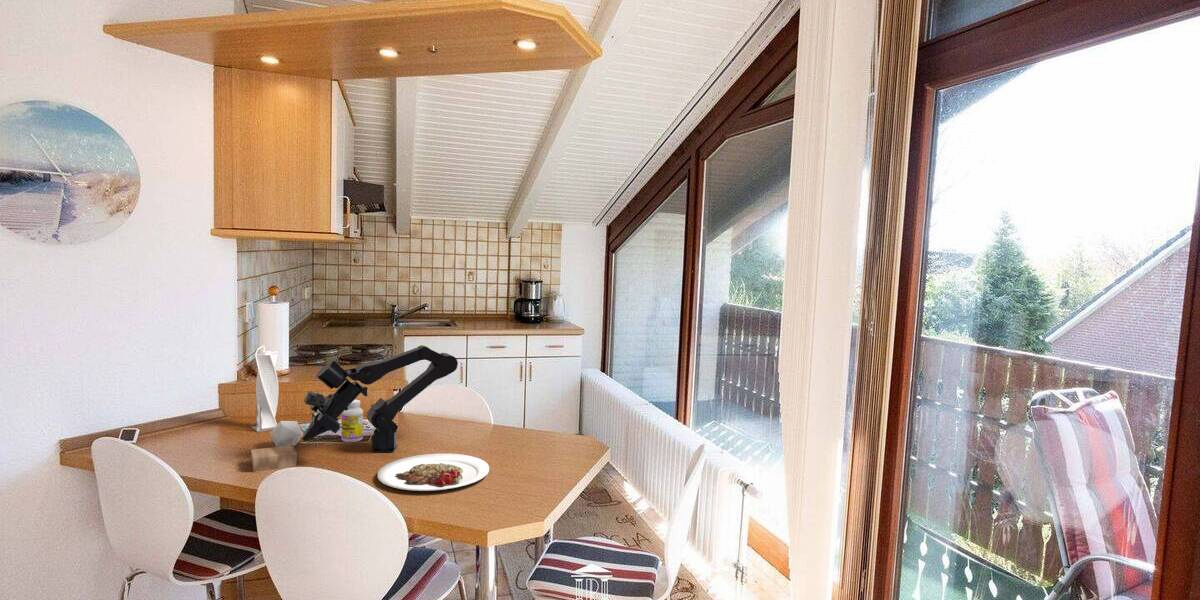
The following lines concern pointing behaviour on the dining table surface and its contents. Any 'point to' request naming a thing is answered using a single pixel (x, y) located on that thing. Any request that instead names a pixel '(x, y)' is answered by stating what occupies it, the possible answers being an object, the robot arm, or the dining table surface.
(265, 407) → the skyscraper
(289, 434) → the die
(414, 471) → the plated food
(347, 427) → the supplement bottle
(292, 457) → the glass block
